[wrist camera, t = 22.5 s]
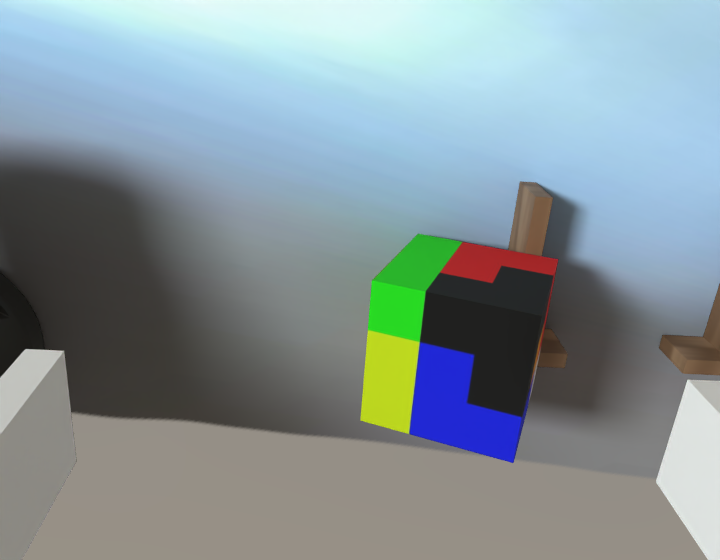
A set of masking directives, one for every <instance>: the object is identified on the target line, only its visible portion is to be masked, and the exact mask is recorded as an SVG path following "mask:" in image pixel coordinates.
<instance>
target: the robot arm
mask: <svg viewBox="0 0 720 560" xmlns="http://www.w3.org/2000/svg"><path fill="white" fill-rule="evenodd" d="M75 463H76V452H75V443H74V434H73V425H72V416H71V407H70V398H69V389H68V380H67V372H66V363H65V354H64V351H57V350H44V344H43V337H42V333H41V329H40V326H39V323H38V320H37V318H36V316H35V314H34V312H33V310H32V308H31V307H30V305H29V303H28V302H27V301H26V299H25V298H24V296H23V295H22V294H21V293H20V291H19V290H18V289H17V288H16V287H15V286H14V285H13V284H12V283H11V282H10V281H9V280H8V279H7V278H5V277H4V276H3V275H2V274H0V560H22V559H23V557H24V555H25V553H26V552H27V550H28V548H29V546H30V544H31V543H32V541H33V539H34V537H35V535H36V533H37V532H38V530H39V528H40V526H41V525H42V523H43V521H44V519H45V517H46V515H47V513H48V512H49V510H50V508H51V506H52V505H53V503H54V501H55V499H56V497H57V495H58V494H59V492H60V490H61V488H62V487H63V485H64V483H65V481H66V479H67V478H68V476H69V474H70V472H71V470H72V469H73V467H74V465H75ZM656 483H657V484H658V485H659V487H660V489H661V490H662V492H663V493H664V495H665V496H666V498H667V499H668V501H669V502H670V504H671V505H672V506H673V508H674V509H675V511H676V512H677V514H678V515H679V517H680V518H681V520H682V521H683V523H684V524H685V526H686V527H687V529H688V530H689V532H690V533H691V535H692V536H693V538H694V539H695V541H696V542H697V544H698V545H699V547H700V548H701V550H702V551H703V553H704V554H705V556H706V557H707V559H708V560H720V381H707V380H687V384H686V387H685V390H684V393H683V397H682V400H681V403H680V406H679V409H678V413H677V416H676V419H675V422H674V426H673V429H672V432H671V435H670V438H669V442H668V445H667V448H666V451H665V454H664V458H663V461H662V464H661V467H660V471H659V474H658V477H657V480H656Z"/></svg>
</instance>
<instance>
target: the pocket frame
mask: <svg viewBox="0 0 720 560" xmlns="http://www.w3.org/2000/svg"><path fill="white" fill-rule="evenodd" d="M552 201H553V197H551V196H550V195H549V194H548V193H547V192H546V191H545V190H544V189H543V188H542V187H540V186H539V185H538V184H537V183H534V182H520V184H519V190H518V196H517V202H516V207H515V213H514V219H513V225H512V231H511V236H510V242H509V248H508V250H510V251H515V252H521V253H526V254H532V255H537V256H542V252H543V247H544V242H545V236H546V231H547V226H548V221H549V216H550V211H551V206H552ZM659 349H660V350H661V351H662V352H663V353H664V354H665V355H666V356H667V357H668V358H669V359H670V360H671V361H672V362H673V364H674V365H675V366H676V367H677V368H678V369H679V370H680V371H681V372H682V373H684V374H705V375H720V284H719V288H718V291H717V294H716V297H715V300H714V304H713V307H712V310H711V313H710V316H709V320H708V323H707V326H706V329H705V332H704V336H703V337H695V336H675V335H662V339H661V342H660V346H659ZM567 355H568V353H567V352H566V350H565V349H564V347H563V346H562V344H561V343H560V341H559V340H558V338H557V337H556V335H555V334H554V332H553V331H552V329H544V334H543V339H542V344H541V349H540V354H539V360H538V365H537V367H555V368H565V364H566V360H567Z"/></svg>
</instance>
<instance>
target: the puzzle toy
mask: <svg viewBox="0 0 720 560" xmlns="http://www.w3.org/2000/svg"><path fill="white" fill-rule="evenodd" d="M557 264H558V259H554V258H548V257H543V256H537V255H532V254H526V253H521V252H515V251H510V250H504V249H499V248H493V247H488V246H482V245H477V244H471V243H466V242H461V241H455V240H450V239H444V238H439V237H433V236H428V235H422V234H417V235H416V236H415V237H414V238H413V239H412V240H411V241H410V242H409V243H408V244H407V245H406V247H405V248H404V249H403V250H402V251H401V252H400V253H399V254H398V255H397V256H396V257H395V258H394V259H393V260H392V261H391V262H390V263H389V264H388V265H387V266H386V267H385V268H384V269H383V270H382V271H381V272H380V273H379V274H378V275H377V276H376V277H375V278H374V279H373V280H372V287H371V299H370V311H369V323H368V336H367V348H366V360H365V372H364V384H363V396H362V408H361V420H360V421H364V422H368V423H371V424H375V425H378V426H382V427H386V428H389V429H393V430H396V431H400V432H404V433H407V434H411V435H414V436H418V437H422V438H425V439H429V440H432V441H436V442H440V443H443V444H447V445H450V446H454V447H458V448H461V449H465V450H468V451H472V452H475V453H479V454H483V455H486V456H490V457H493V458H497V459H501V460H505V461H508V462H511V463H513V462H514V459H515V455H516V451H517V447H518V443H519V439H520V435H521V431H522V428H523V424H524V420H525V416H526V412H527V408H528V404H529V400H530V396H531V393H532V389H533V385H534V380H535V375H536V370H537V365H538V360H539V354H540V349H541V344H542V339H543V334H544V329H545V324H546V319H547V314H548V309H549V304H550V299H551V294H552V289H553V284H554V279H555V274H556V269H557Z"/></svg>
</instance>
